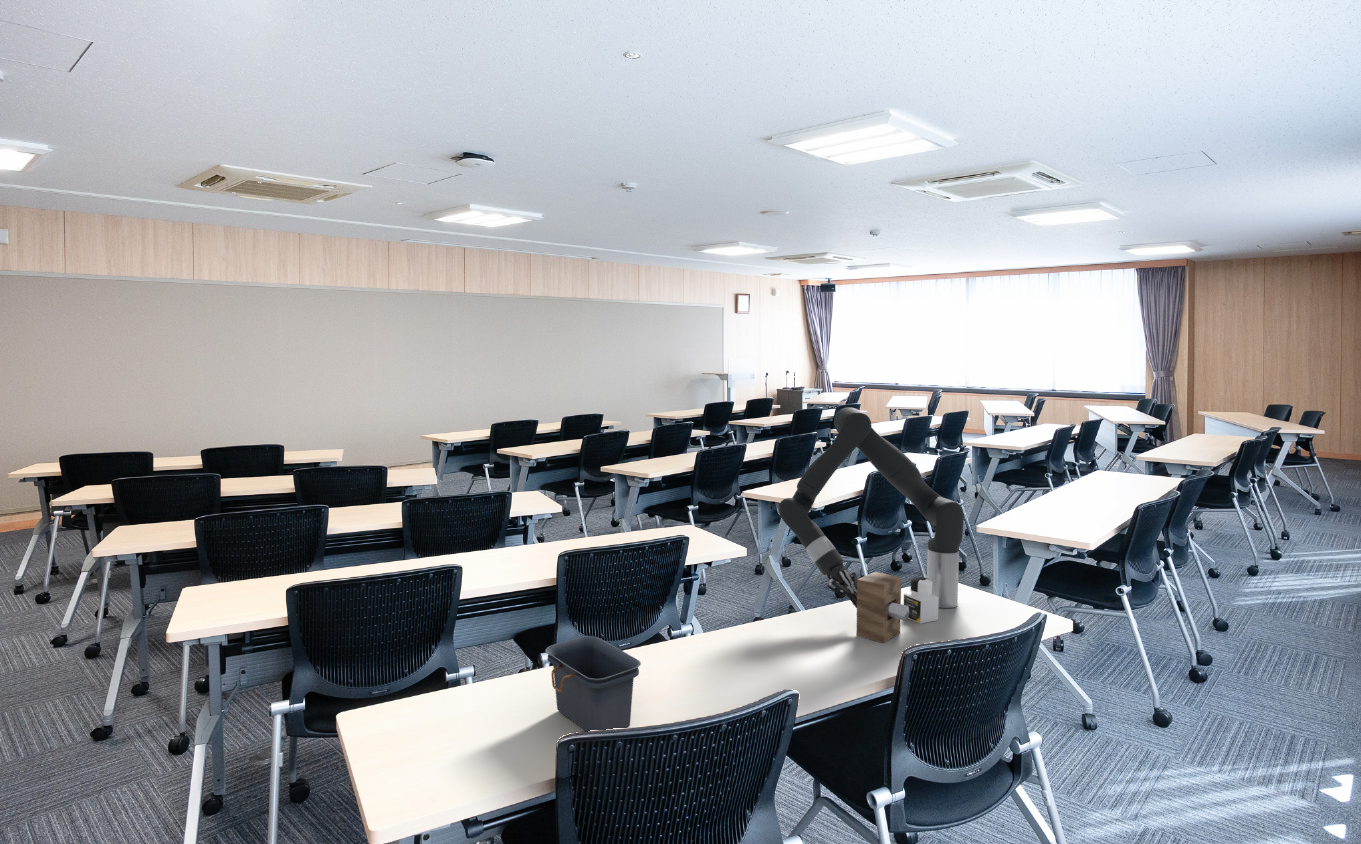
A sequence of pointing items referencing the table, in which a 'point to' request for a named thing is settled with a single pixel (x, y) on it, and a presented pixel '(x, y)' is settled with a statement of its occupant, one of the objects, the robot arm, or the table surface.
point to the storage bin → (593, 682)
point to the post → (877, 606)
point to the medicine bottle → (921, 601)
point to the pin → (898, 611)
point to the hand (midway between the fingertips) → (860, 605)
